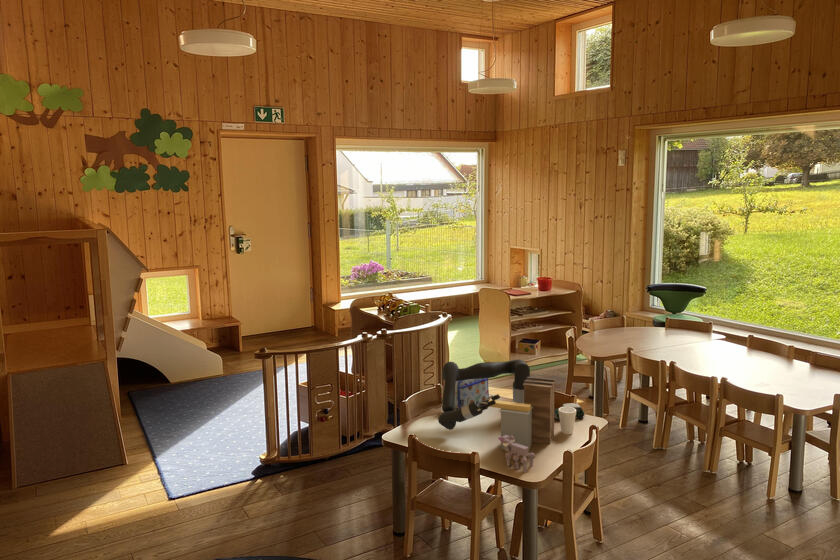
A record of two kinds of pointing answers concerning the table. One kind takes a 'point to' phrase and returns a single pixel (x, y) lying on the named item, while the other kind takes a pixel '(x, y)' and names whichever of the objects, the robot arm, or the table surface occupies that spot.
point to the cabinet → (541, 407)
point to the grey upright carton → (517, 426)
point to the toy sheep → (516, 451)
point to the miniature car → (579, 410)
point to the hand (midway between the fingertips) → (497, 398)
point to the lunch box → (470, 391)
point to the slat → (512, 405)
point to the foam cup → (567, 419)
